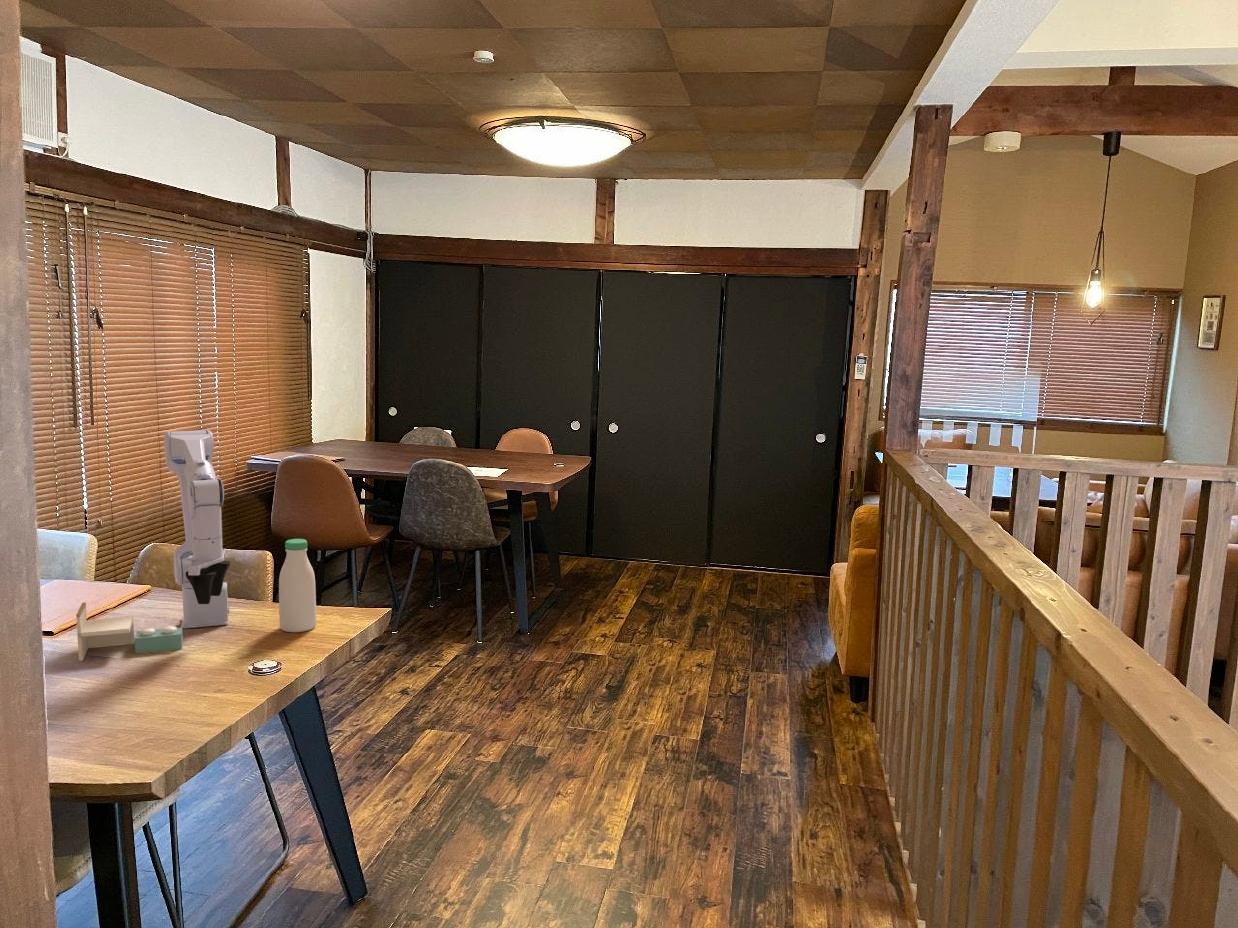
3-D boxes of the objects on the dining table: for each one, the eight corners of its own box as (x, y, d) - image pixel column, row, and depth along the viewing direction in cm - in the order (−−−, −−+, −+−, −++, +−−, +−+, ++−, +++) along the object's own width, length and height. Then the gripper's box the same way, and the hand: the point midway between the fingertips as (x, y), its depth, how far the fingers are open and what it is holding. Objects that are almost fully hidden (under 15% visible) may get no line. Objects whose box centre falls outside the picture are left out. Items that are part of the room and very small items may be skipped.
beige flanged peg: (134, 642, 189) (132, 598, 188) (130, 656, 182) (128, 610, 181) (85, 647, 186) (82, 602, 184) (79, 661, 179) (76, 614, 177)
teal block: (183, 642, 191) (182, 623, 191) (181, 649, 187) (181, 630, 186) (137, 647, 188) (136, 627, 187) (135, 654, 184) (134, 634, 183)
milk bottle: (322, 628, 202) (321, 541, 199) (290, 635, 197) (288, 546, 194) (305, 619, 207) (303, 534, 204) (273, 627, 202) (271, 540, 199)
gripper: (202, 528, 195) (204, 589, 197) (171, 544, 180) (174, 609, 182) (235, 529, 195) (237, 589, 197) (207, 545, 181) (210, 610, 183)
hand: (209, 599), depth 190 cm, fingers open, 5 cm apart
